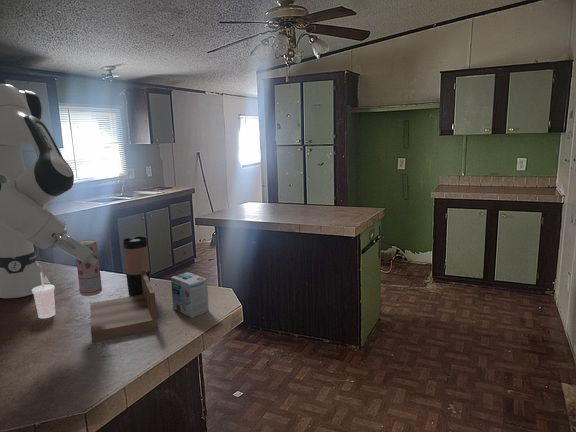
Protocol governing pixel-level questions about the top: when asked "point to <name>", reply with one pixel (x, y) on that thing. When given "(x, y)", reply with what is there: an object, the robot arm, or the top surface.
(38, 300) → the beverage cup
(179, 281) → the light bulb box
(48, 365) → the top surface
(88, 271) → the beverage can
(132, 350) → the top surface
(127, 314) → the walnut shelf stand
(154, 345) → the top surface
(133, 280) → the travel mug
